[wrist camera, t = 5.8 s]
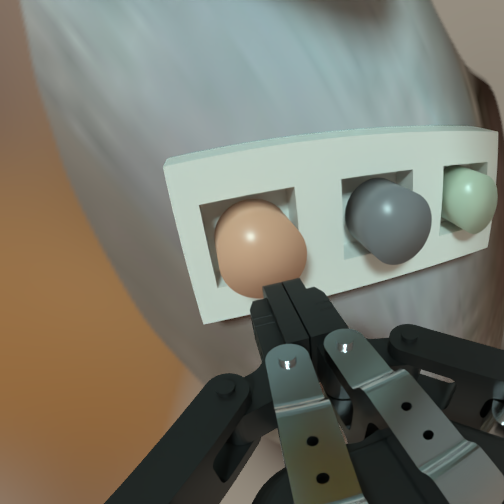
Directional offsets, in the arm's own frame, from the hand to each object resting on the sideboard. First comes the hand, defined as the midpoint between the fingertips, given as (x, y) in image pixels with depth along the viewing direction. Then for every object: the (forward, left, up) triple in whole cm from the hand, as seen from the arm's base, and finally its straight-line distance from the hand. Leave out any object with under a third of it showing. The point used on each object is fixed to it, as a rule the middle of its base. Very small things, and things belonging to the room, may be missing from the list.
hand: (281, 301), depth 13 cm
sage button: (0, +16, -8) cm, 18 cm away
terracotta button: (0, 0, -7) cm, 7 cm away
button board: (0, +8, -9) cm, 12 cm away
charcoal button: (0, +8, -6) cm, 10 cm away
